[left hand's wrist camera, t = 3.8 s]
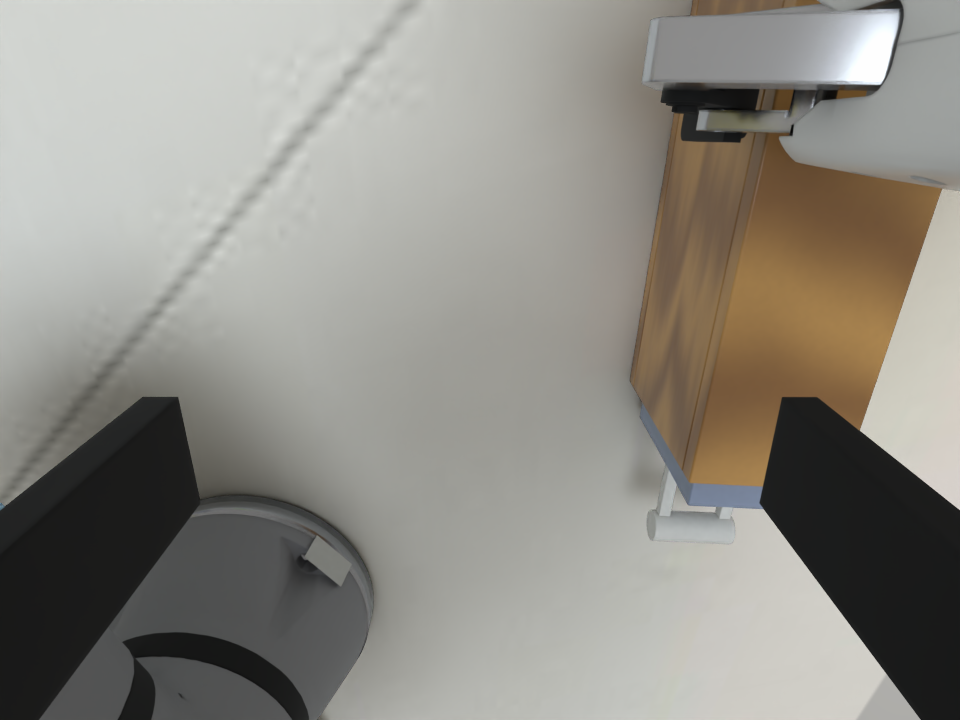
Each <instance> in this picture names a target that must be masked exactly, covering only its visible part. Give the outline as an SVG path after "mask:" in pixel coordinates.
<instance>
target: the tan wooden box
mask: <svg viewBox="0 0 960 720" xmlns="http://www.w3.org/2000/svg"><path fill="white" fill-rule="evenodd" d="M813 4H821V3H820V2H819V1H817V0H693V3H692V9H691V15H690V16H698V15H728V14H737V13H745V12H754V11H762V10H771V9H779V8H788V7H796V6H804V5H813ZM793 91H794V90H784V89H760V91H759V96H758V100H757V105H756V110H789V108H790V104H791V100H792V95H793ZM866 93H867V91H844V90H839V91H838V95H837V99H843V98H853V97H864V96H866ZM683 115H684V114H678V113H674V118H673V124H672V130H671V136H670V142H669V148H668V154H667V160H666V166H665V172H664V178H663V184H662V190H661V196H660V202H659V208H658V214H657V220H656V226H655V232H654V238H653V244H652V250H651V256H650V262H649V268H648V274H647V280H646V286H645V292H644V298H643V304H642V310H641V316H640V322H639V328H638V334H637V340H636V346H635V352H634V358H633V364H632V370H631V376H630V382H631V384H632V386H633V387H634V389H635V391H636V393H637V394H638V396H639V398H640V400H641V401H642V403H643V405H644V406H645V408H646V410H647V412H648V413H649V415H650V417H651V418H652V420H653V422H654V424H655V425H656V427H657V429H658V430H659V432H660V434H661V436H662V437H663V439H664V441H665V443H666V444H667V446H668V448H669V449H670V451H671V453H672V455H673V456H674V458H675V460H676V461H677V463H678V465H679V467H680V468H681V470H682V471H683V473H684V475H685V477H686V478H687V480H688V482H689V483H697V484H718V485H738V486H759V487H763V483H764V479H765V474H766V469H767V465H768V460H769V455H770V451H771V446H772V441H773V437H774V432H775V427H776V423H777V418H778V413H779V409H780V404H781V399H782V397H818V398H819V399H820V400H822V401H823V402H824V403H825V404H827V405H828V406H829V407H830V408H832V409H833V410H834V411H835V412H837V413H838V414H839V415H840V416H842V417H843V418H844V419H846V420H847V421H848V422H849V423H851V424H852V425H853V426H854V427H856V428H857V429H858V430H859V431H860V428H861V425H862V422H863V419H864V416H865V413H866V410H867V407H868V404H869V402H870V399H871V396H872V393H873V390H874V387H875V384H876V381H877V378H878V375H879V372H880V369H881V366H882V363H883V360H884V357H885V355H886V352H887V349H888V346H889V343H890V340H891V337H892V334H893V331H894V328H895V325H896V322H897V319H898V316H899V313H900V310H901V308H902V305H903V302H904V299H905V296H906V293H907V290H908V287H909V284H910V281H911V278H912V275H913V272H914V269H915V266H916V263H917V261H918V258H919V255H920V252H921V249H922V246H923V243H924V240H925V237H926V234H927V231H928V228H929V225H930V222H931V219H932V216H933V214H934V211H935V208H936V205H937V202H938V199H939V196H940V193H941V190H942V188H936V187H931V186H925V185H919V184H913V183H907V182H901V181H895V180H889V179H883V178H877V177H871V176H865V175H860V174H855V173H849V172H844V171H839V170H833V169H828V168H822V167H817V166H812V165H807V164H802V163H798V162H795V161H794V160H793V159H792V158H791V157H790V156H789V155H788V154H787V152H786V151H785V150H784V148H783V146H782V145H781V142H780V140H779V136H789V134H761V133H747V134H746V136H745V137H744V138H741V142H740V143H727V142H692V141H682V140H681V126H682V121H683Z"/></svg>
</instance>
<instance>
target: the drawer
mask: <svg viewBox="0 0 960 720" xmlns="http://www.w3.org/2000/svg"><path fill="white" fill-rule="evenodd" d="M640 418H641V420H642V422H643V423H644V425H645V427H646V429H647V431H648V433H649V434H650V436H651V438H652V440H653V442H654V444H655V445H656V447H657V449H658V451H659V453H660V455H661V456H662V458H663V460H664V462H665V469H664V473H663V478H662V483H661V488H660V493H659V498H658V503H657V508H656V510H650V511H649V512H648V515H647V532H648V536H649V538H650V540H652V541H670V542H691V543H712V544H731V543H733V541H734V538H735V524H734V520H733V518H732V516H731V515H732V511H733V508H752V509H763V508H762V506H761V505H760V503H759V502H760V498H761V493H762V488H763V487H759V486H738V485H718V484H697V483H689V482H688V480H687V478H686V477H685V475H684V473H683V471H682V470H681V468H680V467H679V465H678V463H677V461H676V460H675V458H674V456H673V455H672V453H671V451H670V449H669V448H668V446H667V444H666V443H665V441H664V439H663V437H662V436H661V434H660V432H659V430H658V429H657V427H656V425H655V424H654V422H653V420H652V418H651V417H650V415H649V413H648V412H647V410H646V408H645V406H644V405H643V403H642V407H641V413H640ZM677 486H678V488H679V489H680V491H681V493H682V495H683V497H684V499H685V500H686V502H687V504H688V505H690V506H711V507H716V510H715V513H712V512H691V511H671V510H672V505H673V500H674V496H675V491H676V487H677Z"/></svg>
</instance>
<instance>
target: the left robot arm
mask: <svg viewBox="0 0 960 720" xmlns="http://www.w3.org/2000/svg"><path fill="white" fill-rule="evenodd" d="M759 503H760V505H761V506H762V508H763V509H764V510H765V512H766V513H767V514H768V516H769V517H770V518H771V520H772V521H773V522H774V524H775V525H776V526H777V528H778V529H779V530H780V532H781V533H782V534H783V536H784V537H785V538H786V540H787V541H788V542H789V544H790V545H791V546H792V548H793V549H794V550H795V552H796V553H797V554H798V556H799V557H800V558H801V560H802V561H803V562H804V564H805V565H806V566H807V568H808V569H809V571H810V572H811V573H812V575H813V576H814V577H815V579H816V580H817V581H818V583H819V584H820V585H821V587H822V588H823V589H824V591H825V592H826V593H827V595H828V596H829V597H830V599H831V600H832V601H833V603H834V604H835V605H836V607H837V608H838V609H839V611H840V612H841V613H842V615H843V616H844V617H845V619H846V620H847V621H848V623H849V624H850V625H851V627H852V628H853V629H854V631H855V632H856V634H857V635H858V636H859V638H860V639H861V640H862V642H863V643H864V644H865V646H866V647H867V648H868V650H869V651H870V652H871V654H872V655H873V656H874V658H875V659H876V660H877V662H878V663H879V664H880V666H881V667H882V668H883V670H884V671H885V672H886V674H887V675H888V676H889V678H890V679H891V680H892V682H893V683H894V684H895V686H896V687H897V688H898V690H899V691H900V692H901V694H902V695H903V696H904V698H905V699H906V700H907V702H908V703H909V705H910V706H911V707H912V709H913V710H914V711H915V713H916V714H917V715H918V717H919V718H920V719H921V720H960V510H959V509H957V508H956V507H955V506H954V505H952V504H951V503H950V502H949V501H947V500H946V499H945V498H944V497H942V496H941V495H940V494H939V493H937V492H936V491H935V490H934V489H932V488H931V487H930V486H929V485H927V484H926V483H925V482H923V481H922V480H921V479H920V478H918V477H917V476H916V475H915V474H913V473H912V472H911V471H910V470H908V469H907V468H906V467H905V466H903V465H902V464H901V463H900V462H898V461H897V460H896V459H895V458H893V457H892V456H891V455H890V454H888V453H887V452H886V451H884V450H883V449H882V448H881V447H879V446H878V445H877V444H876V443H874V442H873V441H872V440H871V439H869V438H868V437H867V436H866V435H864V434H863V433H862V432H861V431H859V430H858V429H857V428H856V427H854V426H853V425H852V424H851V423H849V422H848V421H847V420H846V419H844V418H843V417H842V416H840V415H839V414H838V413H837V412H835V411H834V410H833V409H832V408H830V407H829V406H828V405H827V404H825V403H824V402H823V401H822V400H820V399H819V398H818V397H782V399H781V404H780V409H779V413H778V418H777V423H776V427H775V432H774V437H773V441H772V446H771V451H770V455H769V460H768V465H767V469H766V474H765V479H764V483H763V488H762V493H761V498H760V502H759ZM373 603H374V601H373V589H372V584H371V580H370V577H369V574H368V572H367V569H366V567H365V565H364V563H363V561H362V560H361V558H360V556H359V555H358V553H357V552H356V551H355V549H354V548H353V547H352V546H351V544H350V543H349V542H348V541H347V540H346V539H345V538H344V537H343V536H342V535H341V534H340V533H339V532H338V531H336V530H335V529H334V528H333V527H331V526H330V525H329V524H327V523H326V522H324V521H323V520H321V519H320V518H318V517H316V516H314V515H313V514H311V513H309V512H307V511H305V510H303V509H300V508H298V507H296V506H293V505H290V504H287V503H284V502H281V501H277V500H273V499H268V498H263V497H256V496H243V495H231V496H219V497H212V498H207V499H203V500H200V498H199V493H198V488H197V483H196V479H195V474H194V469H193V465H192V460H191V455H190V451H189V446H188V441H187V437H186V432H185V427H184V423H183V418H182V413H181V409H180V404H179V399H178V397H142V398H141V399H140V400H138V401H137V402H136V403H135V404H133V405H132V406H131V407H130V408H128V409H127V410H126V411H125V412H123V413H122V414H121V415H120V416H118V417H117V418H116V419H114V420H113V421H112V422H111V423H109V424H108V425H107V426H106V427H104V428H103V429H102V430H101V431H99V432H98V433H97V434H96V435H94V436H93V437H92V438H91V439H89V440H88V441H87V442H86V443H84V444H83V445H82V446H81V447H79V448H78V449H77V450H76V451H74V452H73V453H72V454H70V455H69V456H68V457H67V458H65V459H64V460H63V461H62V462H60V463H59V464H58V465H57V466H55V467H54V468H53V469H52V470H50V471H49V472H48V473H47V474H45V475H44V476H43V477H42V478H40V479H39V480H38V481H37V482H35V483H34V484H33V485H31V486H30V487H29V488H28V489H26V490H25V491H24V492H23V493H21V494H20V495H19V496H18V497H16V498H15V499H14V500H13V501H11V502H10V503H9V504H8V505H6V506H3V504H2V503H0V720H318V718H319V717H320V715H321V714H322V712H323V711H324V709H325V708H326V706H327V705H328V703H329V702H330V700H331V699H332V697H333V696H334V694H335V693H336V691H337V689H338V688H339V686H340V685H341V683H342V682H343V680H344V679H345V677H346V676H347V674H348V673H349V671H350V670H351V668H352V667H353V665H354V664H355V662H356V660H357V659H358V657H359V656H360V654H361V652H362V650H363V648H364V645H365V642H366V639H367V635H368V630H369V626H370V621H371V617H372V612H373Z"/></svg>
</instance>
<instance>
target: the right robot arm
mask: <svg viewBox="0 0 960 720" xmlns="http://www.w3.org/2000/svg"><path fill="white" fill-rule="evenodd" d="M817 1H819V2H820V3H821V4H813V5H804V6H796V7H788V8H779V9H771V10H762V11H754V12H745V13H737V14H728V15H698V16H669V17H659V18H654V19H652V20H650V27H649V34H648V42H647V49H646V56H645V63H644V70H643V77H642V84H643V85H645V86H647V87H650V88H652V89H654V90H662V97H661V103H666V105H667V106H672V112H674V113H678V114H684V115H683V121H682V126H681V140H682V141H692V142H727V143H740V142H741V138H744V137H745V136H746V134H747V133H761V134H789V136H779V140H780V142H781V145H782V146H783V148H784V150H785V151H786V152H787V154H788V155H789V156H790V157H791V158H792V159H793V160H794V161H795V162H798V163H802V164H807V165H812V166H817V167H822V168H828V169H833V170H839V171H844V172H849V173H855V174H860V175H865V176H871V177H877V178H883V179H889V180H895V181H901V182H907V183H913V184H919V185H925V186H931V187H936V188H942V189H948V190H954V191H960V0H817ZM760 89H784V90H794V91H793V95H792V100H791V104H790V108H789V110H756V105H757V100H758V96H759V91H760ZM839 90H844V91H867V93H866V96H864V97H853V98H843V99H837V95H838V91H839Z"/></svg>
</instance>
